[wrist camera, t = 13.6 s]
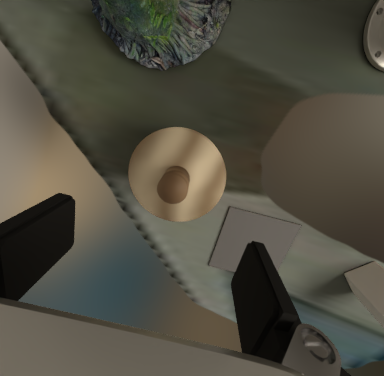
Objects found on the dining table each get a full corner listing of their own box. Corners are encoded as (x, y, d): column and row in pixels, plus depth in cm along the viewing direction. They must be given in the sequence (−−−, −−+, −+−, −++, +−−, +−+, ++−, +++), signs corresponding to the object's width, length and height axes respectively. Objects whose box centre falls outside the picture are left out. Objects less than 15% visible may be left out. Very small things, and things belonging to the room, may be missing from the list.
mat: (300, 224, 41) (301, 225, 41) (271, 279, 47) (272, 281, 46) (230, 206, 41) (230, 207, 40) (208, 264, 46) (208, 265, 46)
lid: (238, 142, 28) (248, 148, 22) (209, 227, 33) (211, 250, 28) (139, 114, 28) (122, 113, 22) (125, 205, 33) (108, 224, 27)
